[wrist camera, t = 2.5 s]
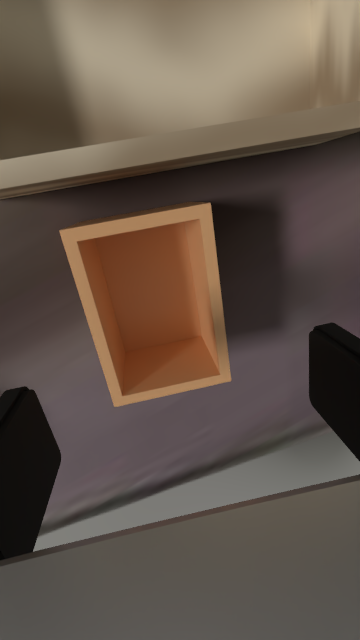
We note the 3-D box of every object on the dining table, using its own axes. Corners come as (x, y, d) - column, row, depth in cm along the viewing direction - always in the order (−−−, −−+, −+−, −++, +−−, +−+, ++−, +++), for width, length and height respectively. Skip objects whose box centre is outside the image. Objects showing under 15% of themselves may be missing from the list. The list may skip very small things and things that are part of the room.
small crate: (81, 221, 19) (59, 230, 13) (189, 201, 19) (210, 202, 14) (119, 356, 23) (114, 407, 17) (208, 337, 23) (231, 381, 18)
